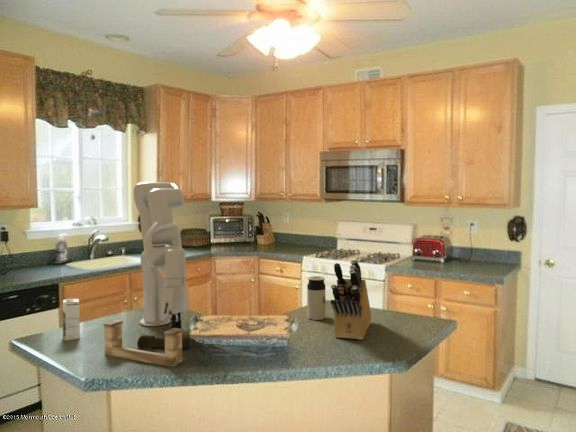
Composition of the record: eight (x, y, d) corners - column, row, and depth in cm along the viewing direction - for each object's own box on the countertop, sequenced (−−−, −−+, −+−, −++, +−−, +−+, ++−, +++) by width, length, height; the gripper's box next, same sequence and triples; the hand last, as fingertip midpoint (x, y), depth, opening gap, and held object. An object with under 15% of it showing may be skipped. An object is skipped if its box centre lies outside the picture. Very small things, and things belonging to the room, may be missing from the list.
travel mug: (303, 318, 199) (303, 278, 198) (313, 314, 205) (313, 275, 204) (318, 321, 194) (319, 280, 193) (328, 317, 201) (328, 277, 200)
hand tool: (191, 347, 163) (191, 334, 163) (188, 350, 159) (188, 337, 159) (140, 345, 164) (140, 333, 164) (136, 349, 160) (135, 336, 160)
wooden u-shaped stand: (115, 349, 159) (115, 319, 158) (183, 361, 148) (182, 328, 148) (104, 354, 154) (103, 323, 153) (173, 367, 143) (172, 333, 143)
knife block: (327, 346, 163) (328, 261, 162) (345, 319, 197) (346, 249, 195) (359, 349, 160) (359, 262, 158) (371, 322, 193) (372, 250, 192)
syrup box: (62, 337, 173) (61, 299, 172) (79, 334, 176) (78, 297, 175) (63, 341, 168) (62, 302, 167) (80, 339, 171) (79, 301, 170)
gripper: (179, 278, 175) (180, 325, 175) (154, 284, 161) (155, 335, 162) (195, 279, 172) (196, 327, 173) (171, 286, 158) (172, 338, 159)
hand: (176, 331), depth 167 cm, fingers closed
